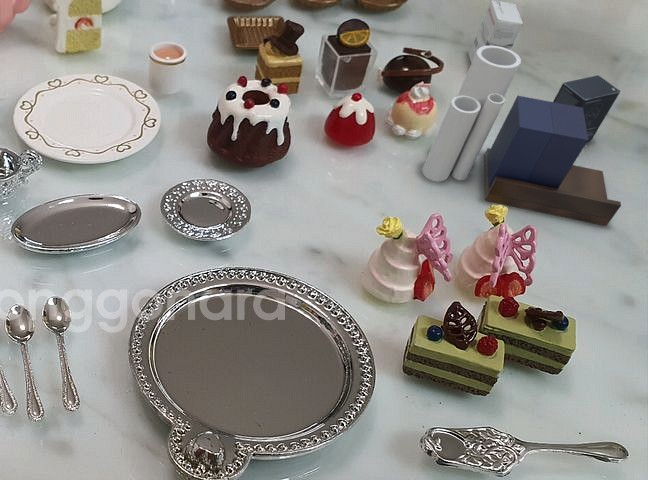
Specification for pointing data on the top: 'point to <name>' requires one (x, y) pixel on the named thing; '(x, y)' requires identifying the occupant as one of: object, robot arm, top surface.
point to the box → (589, 99)
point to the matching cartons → (538, 142)
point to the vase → (471, 114)
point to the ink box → (498, 27)
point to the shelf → (557, 195)
